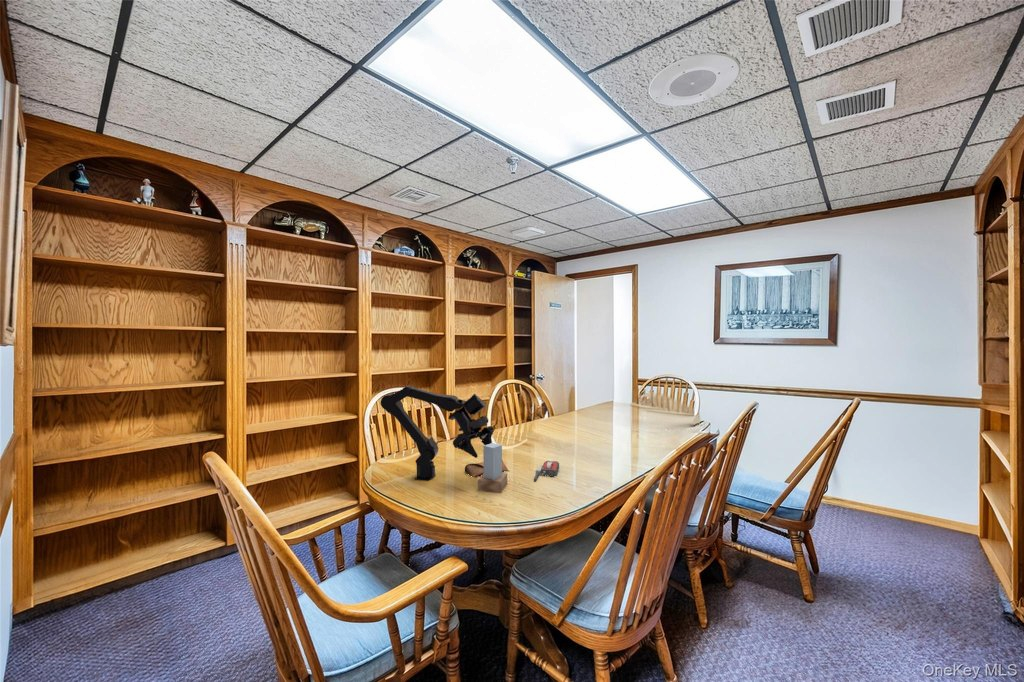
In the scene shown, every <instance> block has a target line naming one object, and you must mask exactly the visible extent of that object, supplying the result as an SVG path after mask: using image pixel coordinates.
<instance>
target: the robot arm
mask: <svg viewBox="0 0 1024 682" xmlns="http://www.w3.org/2000/svg"><path fill="white" fill-rule="evenodd" d="M407 397H408V398H412V399H416V400H418V401H423V402H426V403H430V404H433V405H436V407H439V408H440V409H441V410H444V411H446V412H449V416H448V420H451V421H456V423H457V425H458V427H459V428H458V431H459V432H462V433H458V434H457V435H456V437H455V438H454V439H453V440H452V446H453V447H454V449H458V450H462V451H463V452H465V453H467V454H469V455H470V456H472V457H473V458H475V459H477V458H478V457H479V455H478V453H477V452H476V450H475V448H474V446H473V444H472V440H474V439H477V438H478V439H479V440H481V441H480V442H481V444H483V446H484V445H487V444H490V443H493V441H492V435H493V434H494V431H495V428H493V426H491V425H489V426H487V425H488V423H489V418H488V417H487V415H481V416H480V417H479V418H476V419H475V418H472V417H471V416H472V415H473V416H476V415H477V414H478V413H479V412H480V411H482V410H483V409H484V408H486V404H485V401H483V399H481V398H480V396H478V395H477V394H476V393H474V394H472V395H471V396H470V398H468V399H467V400H463V399H459V398H458V397H457V396H456V395H454V394H453V395H452V394H438V393H435V392H432V391H428V390H425V389H420V388H417V387H413V386H411V385H406V386H404V387H403V388H402V389H400V390H398V391H395V392H393V393H389V394H385V395H384V396H382V397H381V399H380V402H379V404H380V406H381V408H382V409H384V410H385V411H386V412H387V413H388V414H390V415H392V416H393V417H394V418H395V419H396V420H397V421H398V423H400V425H401V426H402V428H403V429H404V430H405V432H407V434H408V435H409V437H410V438H411V440H413V441H414V443H415V444H416V447H417V451H418V453H419V456H418V457H417V458H416V460H415V464H416V476H415V477H414V480H420V481H421V480H422V481H431V479H433V478H434V477H435V476H436V465H435V462H434V461H433V460H434V458H435V457H436V456H437V455H438V453H439V444H438V442H436V441H435V439H434V437H432V436H430V437H427V436H425V434H424V433H423V432H422V431H421V429H420V428H419V427H418V425H417V424H416V423H415V421H414V420H413V419H412V418H411V416H410V415H409V414H408V412H407V411H406V410H405V407H404V405H403V402H402V400H404V399H405V398H407ZM470 415H471V416H470ZM482 427H483V429H482Z"/></svg>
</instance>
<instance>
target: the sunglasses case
mask: <svg viewBox="0 0 1024 682" xmlns="http://www.w3.org/2000/svg"><path fill="white" fill-rule="evenodd" d="M504 471H508V472H510V470H509V469H508V468H507V466H506V464H505V462H504V460H503V459H502V473H505V472H504ZM465 472H466V473H465ZM464 473H465V474H467V475H468V474H469V475H470V476H469V475H468V476H469V477H471V476H472V477H475V478H478V477H477V476H479V477H481V475H483V474H484V461H482V462H476V463H468V464H466V465H465V466H464ZM472 477H471V478H472Z"/></svg>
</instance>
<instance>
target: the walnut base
mask: <svg viewBox="0 0 1024 682" xmlns="http://www.w3.org/2000/svg"><path fill="white" fill-rule="evenodd" d="M507 485H508V472H502V477H499V478H497V479H495V480H492V479H488V478H485V477H484V474H483V475H482V476H479V478H478V479H477V491H478V490H479V492H488V491H489V492H490V493H499V492H501V493H502V492H503V491H504V490H505V488H506V486H507Z"/></svg>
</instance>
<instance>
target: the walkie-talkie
mask: <svg viewBox="0 0 1024 682" xmlns="http://www.w3.org/2000/svg"><path fill="white" fill-rule="evenodd" d="M558 469H559V470H560V463H559V461H556V460H546V461H544V463H543V464H542V465H540V466H537V468H536V469H535V475H534V477H533V480H534V481H536V480H537V479H538V477H539V476H541V475H549V476H548V477H551V476H552V477H553V476H556V477H557V476H558V472H559V470H558Z"/></svg>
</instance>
